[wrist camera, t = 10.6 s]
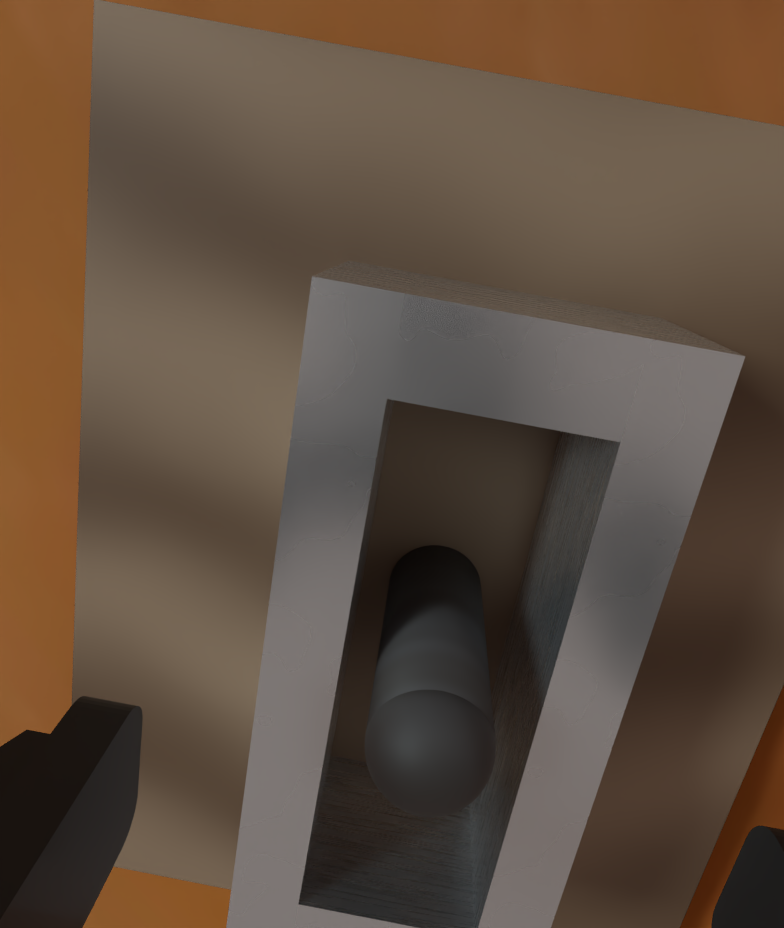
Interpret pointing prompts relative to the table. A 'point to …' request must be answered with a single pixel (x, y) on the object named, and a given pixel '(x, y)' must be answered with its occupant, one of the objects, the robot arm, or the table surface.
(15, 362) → the table surface
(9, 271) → the table surface
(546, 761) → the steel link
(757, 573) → the keeper plate
